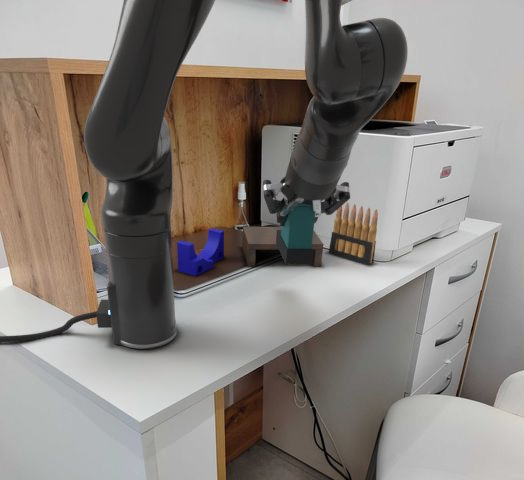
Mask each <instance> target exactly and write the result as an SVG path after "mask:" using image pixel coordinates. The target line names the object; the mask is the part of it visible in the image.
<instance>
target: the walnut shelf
mask: <svg viewBox="0 0 524 480" xmlns="http://www.w3.org/2000/svg"><path fill="white" fill-rule="evenodd" d="M281 229H282V226H243V227H242V245H241V246H242V252H243V255H244V259H245V263H246V265H247V267H248V268H249V267H256V256H257V254H256V252H257V250H279V248H278V246H277V244H276V235H277V230H281ZM320 238H321V237H319V235H318V234H317V233H316V231H315V230H313V239H312V250H313V257H312V265H313V267H322V261H323V254H324V243H323V241H322V240H321V239H320Z"/></svg>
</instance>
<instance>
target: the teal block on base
mask: <svg viewBox="0 0 524 480" xmlns="http://www.w3.org/2000/svg"><path fill="white" fill-rule="evenodd" d="M314 221H315V212H313V205H307V204H301V205H298V206H297V207H296V208H295V210H294V211H290V212H289V213H288V217H287V220H286V223H285V226H281V227H282V229H281V230H277V235H276V244H277V246H278V248H279V249H278V251H279V253H280V255H281V257H282V259H283V261H284V263H285V265H289V266H291V265H292V266H293V265H295V266H297V265H299V266H300V265H301V266H306V265H307V266H311V265H313V264H312V257H313V250H312V239H313V230H314V229H315V228H314V227H315V224H314ZM314 231H315V230H314Z"/></svg>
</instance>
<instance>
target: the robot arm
mask: <svg viewBox="0 0 524 480" xmlns="http://www.w3.org/2000/svg"><path fill="white" fill-rule="evenodd" d="M352 1H353V0H304V10H305V11H304V12H305V41H304V42H305V43H304V44H305V45H304V73H305V79H306V84H307V86H308V89H309V91H310V92H311V94H312V95H313V97H312V98H311V99H310V101H309V103H308V106H307V108H306V112H305V114H304V118H303V121H302V124H301V128H300V130H299V132H298V134H297V136H296V138H295V142H294V145H293V149H292V152H291V155H290V159H289V162H288V165H287V169H286V173H285V176H284V177H283V178H281V180H280V182H276V183H275V182H274V183H272V181H271V180H270V179H264V180H263V181H262V189H263V190H262V192H263V198H264V201H265V205H266V206H267V209H268V212H269V214H271V215H275V214H276V223H277V224H279V227H282V226H285V223H286V220H287V217H288V213H289V212H290V211H294V210H295V208H296V207H297V206H298V205H301V204H307V205H313V212H315V221H314V225H315V224H316V223H317V222H318V220H319V218H320V217H321V216H322V214H325V215H327V216H331V215H333V214H334V213H335V212H337V209H338V208H340V207H341V206H342V207H343V205H344V204H346V203H348V201H350V199H351V191H350V190H351V189H350V183H349V182H348V181H343V182H341V183H340V184H338V183H339V181H340V179H341V177H342V176H343V173H344V171H345V169H346V168H347V166H348V163H349V160H350V158H351V153H352V150H353V147H354V145H355V144H356V141H357V139H358V136H359V135H360V132H361V130H362V129H363V128H364V127H365V126H366V125H367V124H368V123H369V122H370V121H371V120H372V119H373V117H374V116H376V114H377V113H378V112H379V111H380V110H381V109H382V108H383V106H384V105H386V103H387V102H388V100H389V99H390V98H391V97H392V96H393V94H394V93H395V92H396V89H397V88H398V87H399V85H400V83H401V81H402V78H403V76H404V74H405V71H406V66H407V62H408V55H409V54H408V50H409V49H408V41H407V37H406V35H405V31H404V30H403V28H402V27H401V25H399V24H398V23H397V22H396V21H395V20H393V19H390V18H388V17H386V18H385V17H375V18H371V19H367V20H362V21H358V22H353V23H348V24H343V25H342V22H341V9H342V6H344V5H346V4H348V3H350V2H352ZM215 2H216V0H123V2H122V7H121V11H120V16H119V22H118V26H117V30H116V36H115V40H114V44H113V46H112V51H111V54H110V56H109V60H108V62H107V66H106V68H105V70H104V73H103V74H102V75H103V76H102V78H101V81H100V84H99V86H98V89H97V91H96V94H95V97H94V99H93V102H92V103H91V107H90V109H89V112H88V114H87V117H86V121H85V124H84V129H83V141H84V142H83V143H84V149H85V152H86V156H87V157H88V160H89V161H90V164H91V165H92V167H93V168H94V169H95V171H97V172H98V174H100V176H102V177H104V178H105V180H106V188H105V194H104V199H103V202H102V205H101V209H100V215H101V223H102V224H101V225H102V231H103V233H102V234H103V240H104V247H105V249H104V250H105V256H106V257H105V258H106V265H107V275H108V282H107V285H106V292H107V299H100V301H99V304H98V307H97V310H96V311H95V310H94V311H91V312H86V313H82V314H79V315H76V316H73V317H72V318H70V319H68V320H67V321H66V322H65V323H64V324H63V325H62V326H60V327H57V328H54V329H51V330H48V331H43V332H42V331H41V332H38V333H31V334H30V333H29V334H17V335H0V343H12V342H13V343H15V342H26V341H27V342H28V341H36V340H40V339H44V338H49V337H53V336H57V335H60V334H63V333H64V332H67V331H68V330H69V329H70V328H71V327H73V326H74V325H75V324H76V323H79V322H82V321H87V320H90V319H96V323H97V328H98V329H109V328H110V329H111V333H112V341H113V345H121V346H124V347H127V348H130V349H139V350H147V349H154V348H158V347H162V346H165V345H167V344H169V343H171V342H173V340H174V339H175V338H176V336H177V325H176V324H177V323H176V322H177V321H176V306H175V303H176V302H175V287H174V286H175V284H174V265H173V246H172V245H173V244H172V224H171V212H172V207H173V198H174V197H173V195H174V191H173V190H174V188H173V187H174V185H173V183H174V182H173V148H172V137H171V131H170V127H169V125H168V121H167V119H166V117H165V115H166V112H167V108H168V107H167V106H168V104H169V100H170V96H171V93H172V90H173V87H174V83H175V80H176V78H177V76H178V73H179V72H180V69H181V67H182V65H183V63H184V61H185V59H186V58H187V56H188V54H189V52H190V50H191V48H192V47H193V45H194V44H195V41H196V40H197V38H198V37H199V34H200V32H201V30H202V28H203V27H204V25H205V23H206V21H207V19H208V18H209V15H210V14H211V13H210V12H211V11H212V8H213V6H214V4H215ZM279 193H281V194H282V196H281V197H280V199H277V197H278V195H279Z"/></svg>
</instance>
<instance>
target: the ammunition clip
mask: <svg viewBox="0 0 524 480" xmlns="http://www.w3.org/2000/svg"><path fill="white" fill-rule="evenodd" d="M349 204H350V203H349V202H346V203H345V206H344V209H343V205H342V206H341V207H340V208H338V209H337V210H336V214H335V218H334V221H333V229H332V231H331V236H330V242H329V247H328V248H329V249H328V254H330V255H333V256H336V257H339V258H343V259H346V260H349V261H353V262H356V263H359V264H363V265H366V266H370V265H372V264H374V259H375V251H376V244H377V243H376V242H377V241H376V239H377V238H376V237H377V232H378V219H379V218H378V217H379V216H378V215H379V213H378V212H379V211H378V209H377V208H376V209H375V210H374V212H373V214H372V216H371V208H370V207H367V210H366V212H365V215H364V207H363V205H360V207H359V209H358V213H357V205H356V204H355V203H354V204H353V206H352V208H351V211H350V205H349Z"/></svg>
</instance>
